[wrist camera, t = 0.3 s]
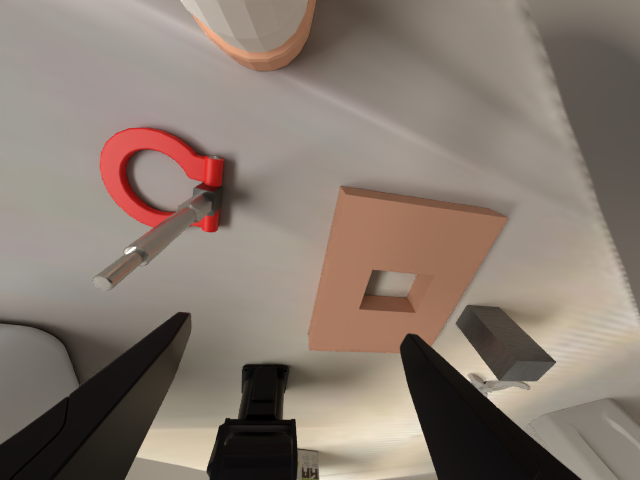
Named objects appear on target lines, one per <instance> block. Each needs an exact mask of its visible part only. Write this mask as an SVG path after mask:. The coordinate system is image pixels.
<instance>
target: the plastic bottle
mask: <svg viewBox="0 0 640 480" xmlns="http://www.w3.org/2000/svg"><path fill="white" fill-rule="evenodd" d="M78 387H79V383H78V381H77V378H76V375H75V372H74V370H73V367H72V364H71V361H70V359H69V356H68V353H67V350H66V348H65V347H64V345H63V344H62V343H61V342H60V341H59V340H58V339H57V338H55V337H54V336H52V335H50V334H49V333H47V332H44V331H42V330H39V329H36V328H32V327H28V326H21V325H10V324H0V444H1V443H3V442H4V441H6V440H7V439H9V438H10V437H12V436H13V435H14V434H16V433H17V432H19V431H20V430H22V429H23V428H24V427H26V426H27V425H29V424H30V423H31V422H33V421H34V420H35V419H37V418H38V417H40V416H41V415H42V414H44V413H45V412H46V411H48V410H49V409H50V408H52V407H53V406H54V405H56V404H57V403H58V402H60V401H61V400H62V399H64V398H65V397H67V396H68V397H69V395H70V393H72V392H73V391H74V390H76V389H77V388H78Z"/></svg>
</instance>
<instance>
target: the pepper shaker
mask: <svg viewBox="0 0 640 480" xmlns="http://www.w3.org/2000/svg"><path fill="white" fill-rule="evenodd" d="M180 1H181V2H182V3H183V5H184V6H185V7H186V9H187V10H188V11H189V12H191V13H192V15H193V17H194V19H195V20H196V21H197V23H198V24H199V25H200V27H201V28H202V29H203V30H204V32H205V33H206V34H207V36H208V37H209V38H210V40H211V41H213V42H214V43H215V44H216V45H217V46H218V47H220V48H221V49H222V50H223V51H224V52H225V53H227V54H228V55H229V56H230V57H232V58H233V59H234V60H236V61H237V62H238V63H239V64H241V65H243V66H246V67H248V68H251V69H254V70H256V71H274V70H276V69H279V68H281V67H283V66H286V65H288V64H289V63H290V62H291V61H292V60H293V59H294V58H295V57H296V56H297V55H298V54H299V53H300V52H301V50H302V48H303V46H304V44H305V43H306V41H307V39H308V37H309V33H310V29H311V24H312V20H313V15H314V9H315V4H316V0H180Z"/></svg>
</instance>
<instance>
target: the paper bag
mask: <svg viewBox="0 0 640 480" xmlns="http://www.w3.org/2000/svg"><path fill="white" fill-rule="evenodd" d="M529 425H530V427H531V428H532V429H533V431H534V432H535V433H536V435H537V436H538V437H539V439H540V440H541V441H542V443H543V444H544V445H545V447H546V448H547V449H548V451H549V452H550V453H551V454H552V455H553V456H554V457H555V458H557V459H558V460H559V461H560V462H561V463H563V464H564V465H565V466H566V467H567V468H569V469H570V470H571V471H572V472H573V473H575V474H576V475H577V476H578V477H580V478H581V479H582V480H640V424H639V423H638V422H636V421H635V420H634V419H633V418H632V417H631V416H630V415H629V414H628V413H626V412H625V411H624V410H623V409H622V408H621V407H620V406H619V405H618V404H617V403H615V402H614V401H613V400H612V399H610V398H605V399H601V400H597V401H594V402H590V403H586V404H582V405H578V406H574V407H570V408H567V409H563V410H559V411H555V412H551V413H547V414H545V415H543V416H541V417H539V418H537V419H535V420H533V421H531V422H530V423H529Z"/></svg>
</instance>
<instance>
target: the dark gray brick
mask: <svg viewBox="0 0 640 480" xmlns="http://www.w3.org/2000/svg"><path fill="white" fill-rule="evenodd" d="M456 325H457V326H458V327H459V329H460V330H461V331H462V333H463V334H464V335H465V337H466V338H467V339H468V340H469V342H470V343H471V344H472V346H473V347H474V348H475V350H476V351H477V352H478V354H479V355H480V356H481V358H482V359H483V360H484V362H485V363H486V364H487V365H488V367H489V368H490V369H491V371H492V372H493V373H494V375H495V376H496V377H497V379H498V380H499V381H537V380H539V379H540V378H541V377H542V376H543V375H544V374H545V373H546V372H547V371H548V370H549V369H550V368H551V367H552V366H553V365H554V364H555V363H556V361H555V360H554V359H553V358H552V357H550V356H549V355H548V354H547V353H546V352H545V351H544V350H543V349H542V348H541V347H540V346H539V345H538V344H537V343H536V342H535V341H534V340H533V339H532V338H531V337H530V336H529V335H527V334H526V333H525V332H524V331H523V330H522V329H521V328H520V327H519V326H518V325H517V324H516V323H515V322H514V321H513V320H512V319H511V318H510V317H509V316H508V315H507V314H505V313H504V312H503V311H502V310H501V309H500V308H499V307H487V306H473V305H467V306H466V308H465V309H464V311H463V312H462V314H461V316H460V317H459V319H458V320H457V322H456Z"/></svg>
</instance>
